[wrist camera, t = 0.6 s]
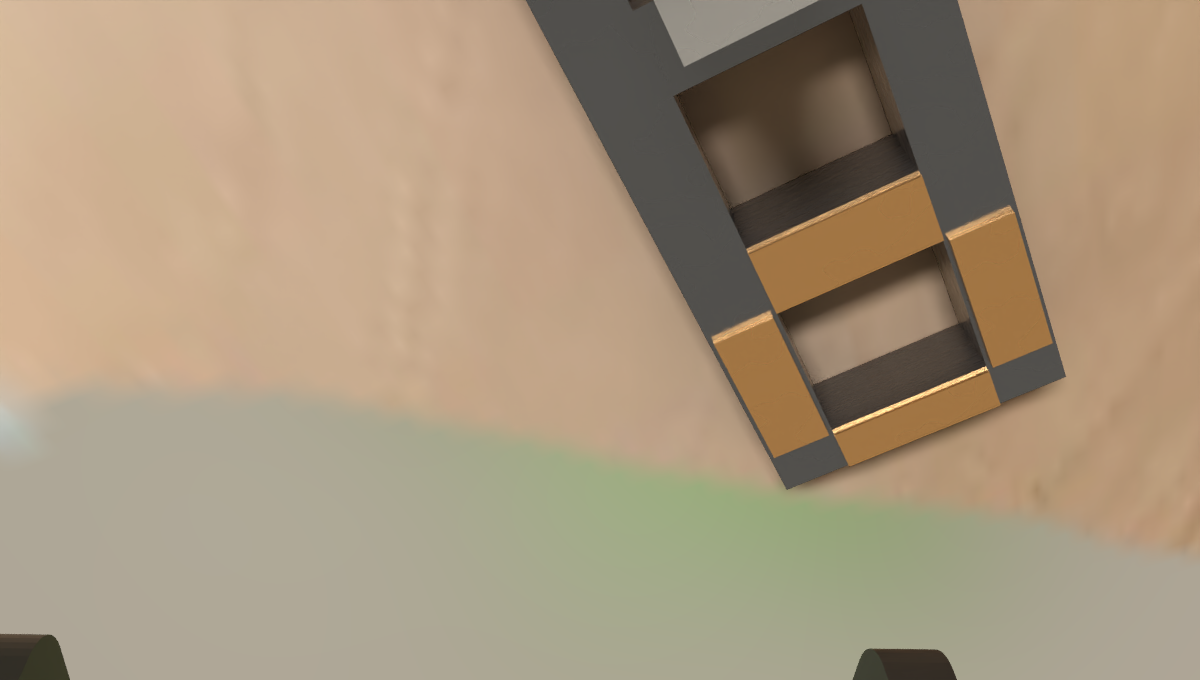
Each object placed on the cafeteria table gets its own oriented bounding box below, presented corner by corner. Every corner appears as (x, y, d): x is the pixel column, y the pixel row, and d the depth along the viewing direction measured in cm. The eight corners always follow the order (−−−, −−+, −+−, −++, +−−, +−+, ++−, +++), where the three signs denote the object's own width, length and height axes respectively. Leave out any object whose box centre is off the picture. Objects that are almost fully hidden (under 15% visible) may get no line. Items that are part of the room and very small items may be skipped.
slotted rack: (794, -463, 24) (824, -468, 22) (1034, 334, 38) (1068, 380, 36) (412, -240, 26) (404, -224, 24) (771, 443, 40) (788, 493, 38)
